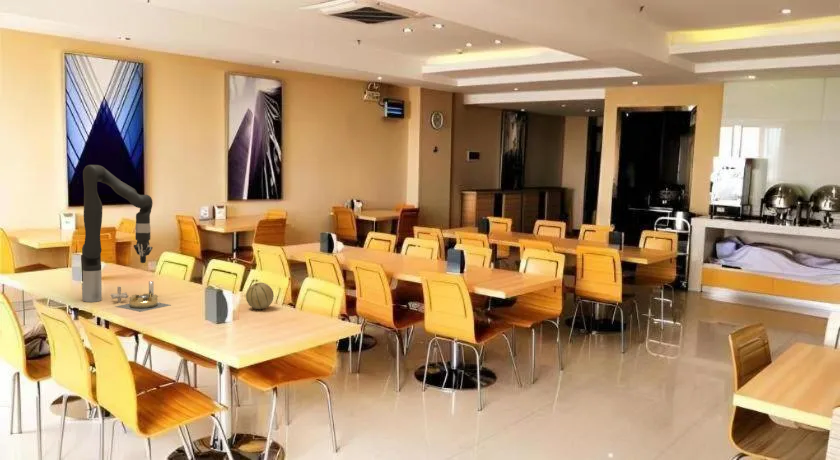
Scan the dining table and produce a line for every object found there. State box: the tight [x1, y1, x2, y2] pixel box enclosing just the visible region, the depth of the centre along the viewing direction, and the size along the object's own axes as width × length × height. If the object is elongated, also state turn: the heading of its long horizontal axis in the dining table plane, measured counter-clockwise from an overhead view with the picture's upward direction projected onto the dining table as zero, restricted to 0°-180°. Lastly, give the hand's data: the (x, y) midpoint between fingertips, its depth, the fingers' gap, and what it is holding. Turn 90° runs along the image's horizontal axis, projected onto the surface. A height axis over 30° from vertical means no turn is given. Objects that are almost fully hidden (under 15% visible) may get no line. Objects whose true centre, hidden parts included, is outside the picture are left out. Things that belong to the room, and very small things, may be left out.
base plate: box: [114, 301, 172, 313], centre depth 349 cm, size 20×20×2 cm
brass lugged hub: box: [128, 280, 159, 308], centre depth 349 cm, size 14×14×12 cm
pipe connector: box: [110, 285, 129, 303], centre depth 355 cm, size 10×10×10 cm
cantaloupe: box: [245, 282, 275, 310], centre depth 358 cm, size 15×15×15 cm
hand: (143, 262), depth 357 cm, fingers closed
